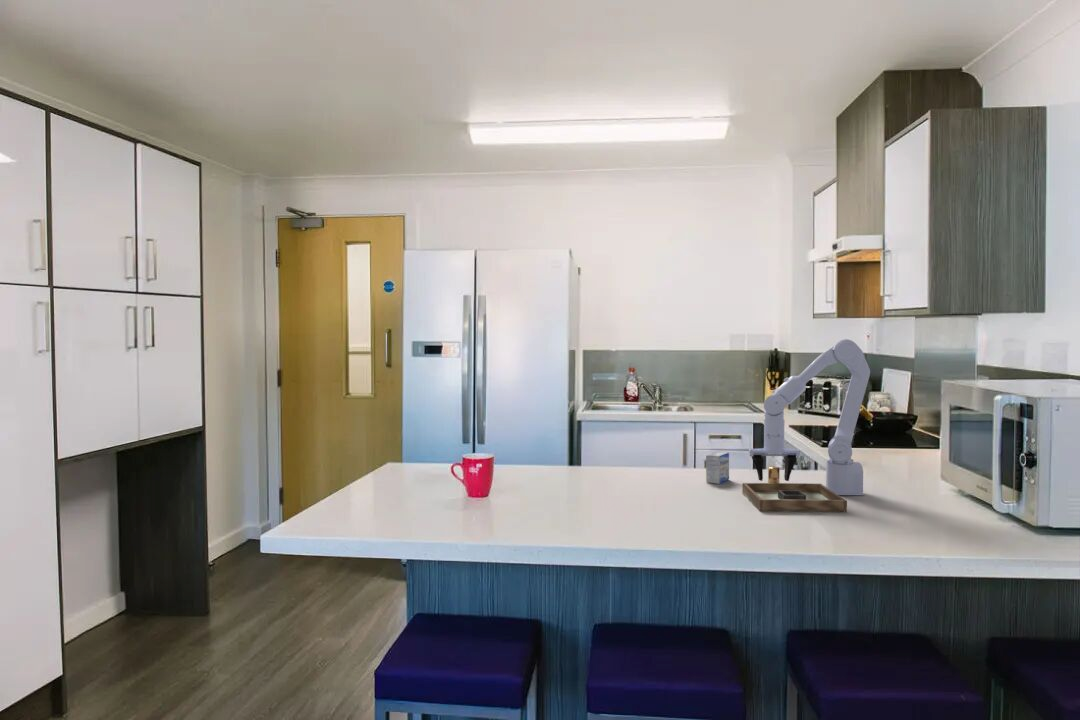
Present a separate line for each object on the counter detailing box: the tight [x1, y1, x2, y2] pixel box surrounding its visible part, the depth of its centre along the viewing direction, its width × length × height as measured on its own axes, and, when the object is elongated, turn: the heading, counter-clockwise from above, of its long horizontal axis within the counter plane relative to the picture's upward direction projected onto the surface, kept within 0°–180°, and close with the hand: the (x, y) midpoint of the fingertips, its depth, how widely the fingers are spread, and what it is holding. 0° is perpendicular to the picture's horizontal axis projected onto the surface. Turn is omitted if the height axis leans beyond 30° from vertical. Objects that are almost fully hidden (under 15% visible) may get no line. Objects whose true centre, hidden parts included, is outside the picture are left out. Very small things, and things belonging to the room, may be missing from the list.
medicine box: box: [705, 451, 730, 485], centre depth 216 cm, size 8×4×9 cm, turn 143°
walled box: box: [741, 482, 848, 513], centre depth 189 cm, size 22×20×3 cm
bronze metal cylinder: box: [767, 466, 781, 483], centre depth 207 cm, size 3×3×6 cm
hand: (773, 480), depth 207 cm, fingers open, 7 cm apart
